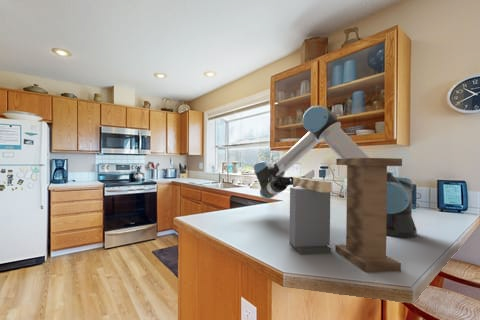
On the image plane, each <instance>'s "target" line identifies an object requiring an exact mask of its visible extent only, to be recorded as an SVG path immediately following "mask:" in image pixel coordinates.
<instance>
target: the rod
mask: <svg viewBox="0 0 480 320" xmlns="http://www.w3.org/2000/svg"><path fill="white" fill-rule="evenodd" d="M292 177H293V185H295V186H296V187H303V188H307V189H311V190H314V191H318V192H330V193H332V188H333V187H332V184H333V183H332V181H327V180H320V179H314V178H312V179H309V178H302V176H292ZM293 185H292V186H293Z"/></svg>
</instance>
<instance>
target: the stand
mask: <svg viewBox="0 0 480 320" xmlns="http://www.w3.org/2000/svg"><path fill="white" fill-rule="evenodd" d="M335 163H336V164H335V165H337V166H346V165H347V166H346V227H345V230H346V231H345V233H346V235H345V242H346V243H345V244H335V247H334V248H335V250H334V251H335V253H338V254H339V255H340V256H342V257H344V259H346V260H347V261H349V262H350V263H352V264H354V265H355V266H356V267H357V268H359V269H361V270H362V271H364V272H365V273H367V274H372V273H388V272H391V273H392V272H402V263H401V262H399V261H397V260H396V259H393V258H392V257H390V256H388V255H387V235H386V214H387V171H388V167H402V166H403V158H389V157H388V158H387V157H384V158H383V157H369V158H346V159H340V158H336V161H335Z"/></svg>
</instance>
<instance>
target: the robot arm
mask: <svg viewBox="0 0 480 320" xmlns="http://www.w3.org/2000/svg"><path fill="white" fill-rule="evenodd" d="M301 121H302V125H303V127H304V129H305V130H306V131H307V133H306V134H305V135H304V136H303V137H302V138H301V139H299V141H297V142H296V143H295V144H294V145H293V146H292V147H291V148H290V149H289V150H288V151H287V152H285V154H283V156H281V157H280V158H279V159H278V160H277V161H276V162H275V163H274V164H272V165H268V163H267V162H266V161H264V160H262V161H260V162H257V163H256V164H254V165H253V170H254V174H255V176H256V179H257V182H258V183H259V186H260V189H259V195H260V196H261V198H262V199H264V200H269V199H272V198H274V197H275V196H277V195H278V194H280V193H282V192H283V191H285V190H286V189H287V187H289V186H292V187H297V186H295V185H293V177H294V176H289V177H287V176H285V173H286V172H287V171H288V170H289V169H290V168H292V167H293V166H294V165H295V164H296V163H297V162H299V161H300V160H301V159H302V158H303V157H304V156H306V154H308V153H309V152H310V151H312V149H314V147H316V146H317V145H318V144H319V143H324V142H325V144H326V145H327V146H328V147H329V148H330V150H332V151H333V153H335V154H336V156H337V157H338V159H346V158H370V157H369V156H368V154H367V153H365V152H364V150H363V149H362V148H361V147H359V145H358V144H357V143H355V141H354V140H353V139H351V137H350V136H349V135H348V134H347V133H346V132H345V131H344V130H343V129H342V128H341V126H342V122H340V121H339V119H338V117H337V115H336V114H335V112H332V111H331V110H330V109H327V108H326V107H324V106H322V105H314V106H310V107H309V108H308V109H306V111H305V112H304V114H303V116H302V120H301ZM345 166H346V167H347V165H345ZM315 175H316V174H315V170H314V169H312V170H310V171H309V172H307V173H306V174H304V175H302V176H301V177H302V178H309V179H314V177H315ZM412 183H413V182H412V180H411V179H410V178H408V177H400V176H399V177H398V176H394V175H393V173H391V172H390V171H388V170H387V214H386V236H392V237H396V238H397V237H399V238H415V237H417V236H418V235H417V234H418V231H417V230H418V229H417V227H416V225H415V222H414V218H413V216H412V214H413V213H412V211H413V210H412V207H413V204H412V203H413V202H412V200H413V198H412V197H413V196H412V191H413V184H412Z"/></svg>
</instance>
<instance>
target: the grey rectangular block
mask: <svg viewBox="0 0 480 320" xmlns="http://www.w3.org/2000/svg"><path fill="white" fill-rule="evenodd" d="M288 232H289V239H288V241H289V244H290V246H292V248H294V249H295V251H297V252H298V253H299V254H300V255H318V254H319V255H320V254H332V248H331V247H330V246H331V192H318V191H314V190H311V189H307V188H303V187H299V186H296V187H293V186H291V187H289V231H288Z"/></svg>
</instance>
